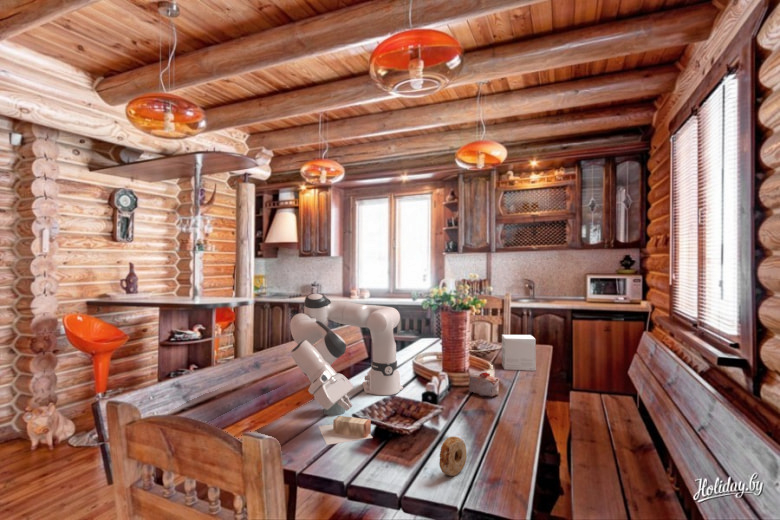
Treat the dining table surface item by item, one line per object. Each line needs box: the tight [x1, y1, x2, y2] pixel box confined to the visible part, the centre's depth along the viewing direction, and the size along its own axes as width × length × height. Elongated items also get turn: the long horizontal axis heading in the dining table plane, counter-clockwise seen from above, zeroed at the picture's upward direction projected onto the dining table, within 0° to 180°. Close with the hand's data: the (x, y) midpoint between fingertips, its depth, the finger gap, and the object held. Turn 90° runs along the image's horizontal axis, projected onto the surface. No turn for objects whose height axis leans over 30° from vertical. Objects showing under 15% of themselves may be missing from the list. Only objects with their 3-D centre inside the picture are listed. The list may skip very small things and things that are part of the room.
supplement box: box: [501, 334, 537, 372], centre depth 236 cm, size 17×13×18 cm
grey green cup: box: [323, 403, 346, 417], centre depth 165 cm, size 10×10×12 cm
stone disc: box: [439, 436, 468, 477], centre depth 118 cm, size 10×4×10 cm, turn 136°
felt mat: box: [317, 423, 373, 446], centre depth 145 cm, size 16×16×1 cm
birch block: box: [333, 415, 372, 437], centre depth 145 cm, size 4×4×12 cm
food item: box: [468, 371, 501, 398], centre depth 189 cm, size 14×8×10 cm, turn 52°
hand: (349, 408), depth 145 cm, fingers closed
